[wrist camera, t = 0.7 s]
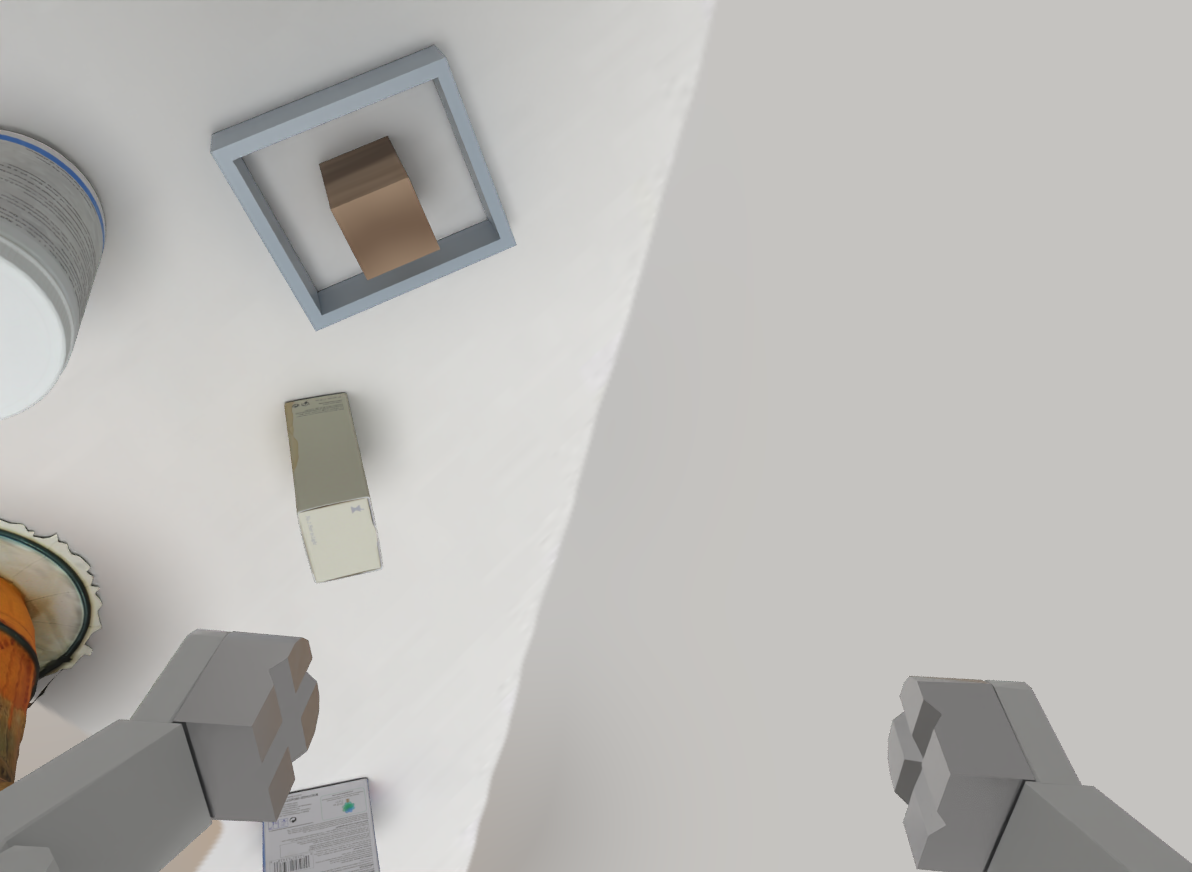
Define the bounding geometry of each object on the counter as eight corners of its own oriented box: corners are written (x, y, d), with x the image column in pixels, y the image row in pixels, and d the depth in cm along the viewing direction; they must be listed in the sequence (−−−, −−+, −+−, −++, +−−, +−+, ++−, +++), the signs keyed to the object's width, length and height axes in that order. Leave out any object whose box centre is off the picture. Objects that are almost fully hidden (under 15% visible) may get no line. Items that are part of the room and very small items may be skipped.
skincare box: (283, 400, 58) (291, 508, 49) (349, 390, 60) (370, 493, 50) (300, 473, 62) (311, 587, 53) (362, 462, 63) (384, 571, 54)
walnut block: (319, 164, 51) (330, 209, 45) (387, 135, 51) (408, 177, 45) (352, 229, 54) (367, 280, 47) (416, 201, 54) (440, 249, 48)
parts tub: (211, 134, 48) (210, 152, 45) (434, 45, 49) (445, 57, 47) (312, 307, 56) (316, 331, 53) (503, 225, 57) (516, 245, 54)
